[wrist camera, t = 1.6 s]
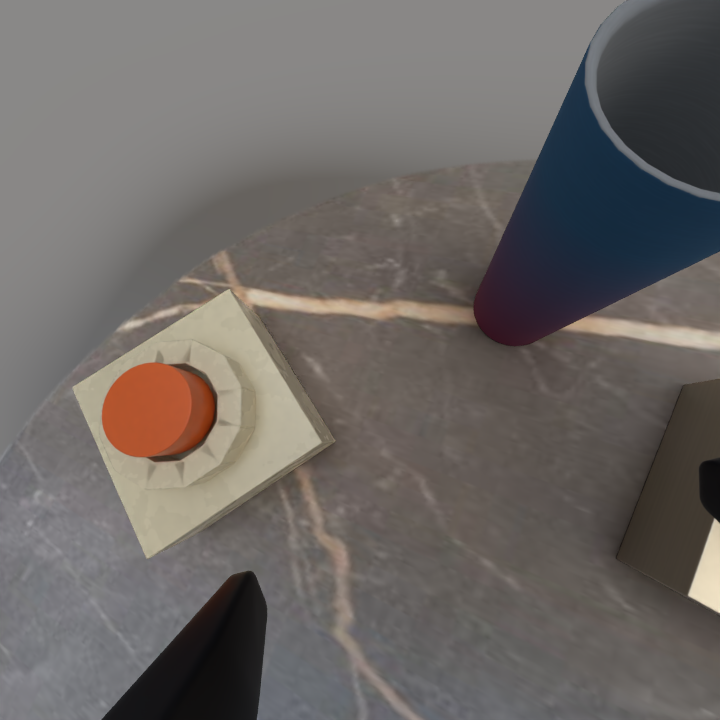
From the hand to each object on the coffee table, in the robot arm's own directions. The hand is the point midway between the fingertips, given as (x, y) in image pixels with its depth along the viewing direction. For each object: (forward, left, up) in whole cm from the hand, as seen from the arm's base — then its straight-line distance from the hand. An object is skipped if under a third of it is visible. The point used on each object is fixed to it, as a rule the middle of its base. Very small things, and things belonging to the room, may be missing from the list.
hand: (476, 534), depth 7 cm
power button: (0, +12, -8) cm, 15 cm away
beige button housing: (0, +12, -15) cm, 19 cm away
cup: (+11, -4, -15) cm, 19 cm away
